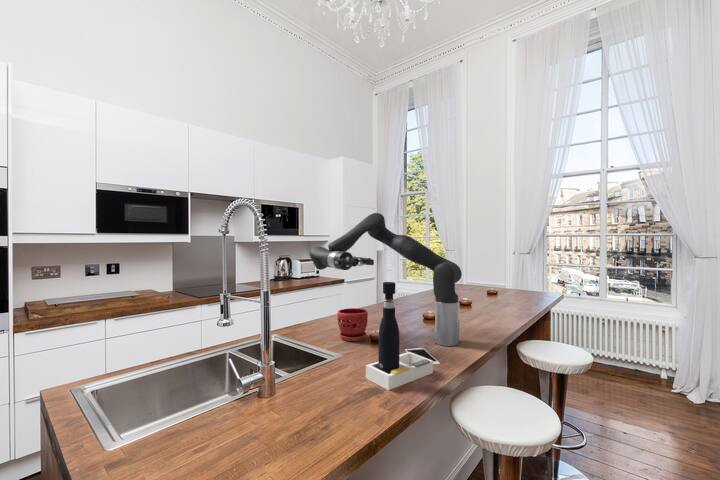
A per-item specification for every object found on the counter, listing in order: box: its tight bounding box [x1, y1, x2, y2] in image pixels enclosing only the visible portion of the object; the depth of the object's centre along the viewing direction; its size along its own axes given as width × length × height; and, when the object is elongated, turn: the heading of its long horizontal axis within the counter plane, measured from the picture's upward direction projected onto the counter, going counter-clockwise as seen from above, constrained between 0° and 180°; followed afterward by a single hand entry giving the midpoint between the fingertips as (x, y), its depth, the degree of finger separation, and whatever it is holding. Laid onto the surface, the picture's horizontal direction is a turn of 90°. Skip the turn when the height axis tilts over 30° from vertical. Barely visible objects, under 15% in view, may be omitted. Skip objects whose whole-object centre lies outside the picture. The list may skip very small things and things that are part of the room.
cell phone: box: [404, 347, 441, 366], centre depth 123 cm, size 8×16×1 cm, turn 10°
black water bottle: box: [378, 281, 400, 374], centre depth 103 cm, size 6×6×30 cm
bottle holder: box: [365, 352, 434, 391], centre depth 106 cm, size 20×11×5 cm, turn 128°
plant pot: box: [336, 307, 369, 342], centre depth 144 cm, size 13×13×12 cm
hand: (364, 263), depth 126 cm, fingers open, 8 cm apart
